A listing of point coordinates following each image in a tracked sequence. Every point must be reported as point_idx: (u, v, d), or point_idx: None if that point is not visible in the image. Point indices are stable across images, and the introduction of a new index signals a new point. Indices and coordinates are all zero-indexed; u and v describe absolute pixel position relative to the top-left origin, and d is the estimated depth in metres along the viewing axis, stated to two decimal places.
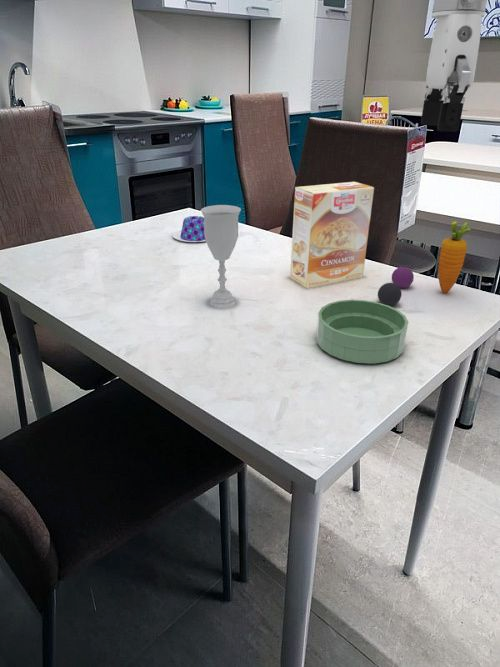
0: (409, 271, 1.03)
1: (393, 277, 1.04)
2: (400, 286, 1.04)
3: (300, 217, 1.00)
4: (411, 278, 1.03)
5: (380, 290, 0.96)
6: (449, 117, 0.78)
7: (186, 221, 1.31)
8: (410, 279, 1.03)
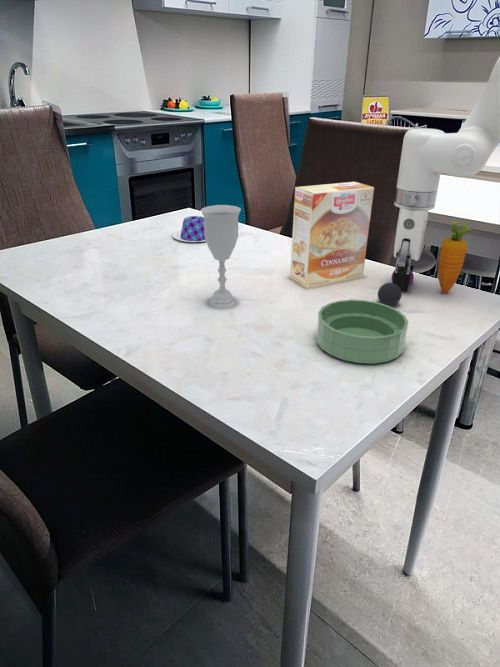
0: None
1: None
2: None
3: (300, 217, 1.00)
4: (411, 278, 1.03)
5: (380, 290, 0.96)
6: (398, 282, 1.02)
7: (186, 221, 1.31)
8: (410, 279, 1.03)
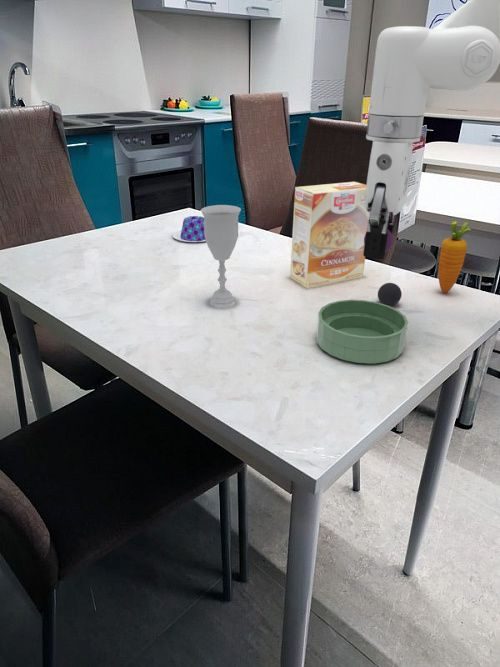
0: (386, 231, 0.77)
1: None
2: None
3: (300, 217, 1.00)
4: (389, 240, 0.77)
5: (380, 290, 0.96)
6: (371, 245, 0.76)
7: (186, 221, 1.31)
8: (388, 242, 0.77)
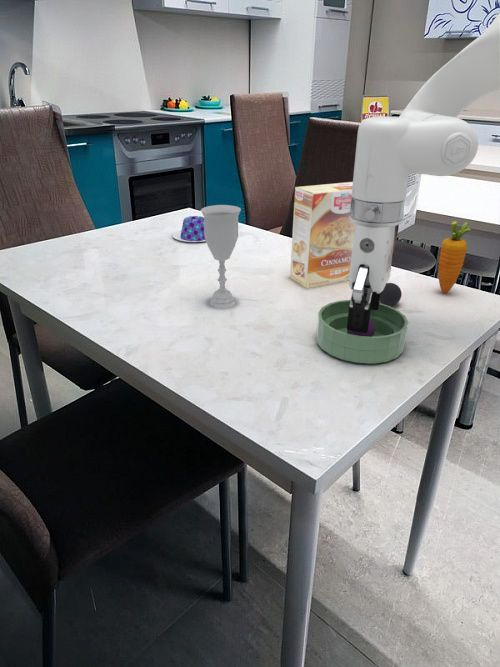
0: None
1: None
2: None
3: (300, 217, 1.00)
4: (371, 331, 0.80)
5: None
6: (354, 320, 0.75)
7: (186, 221, 1.31)
8: (370, 333, 0.80)
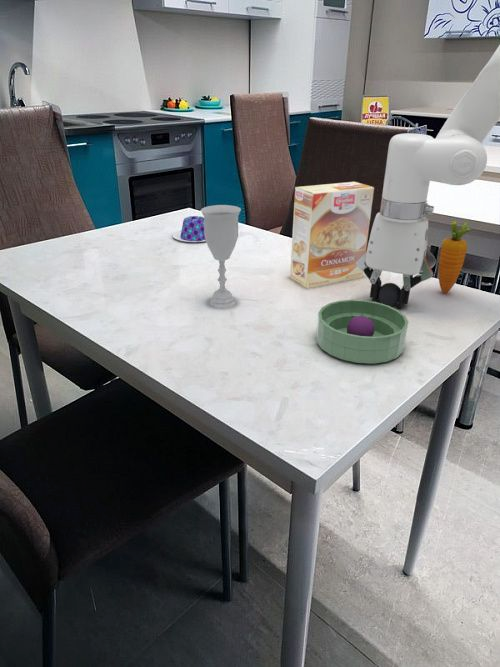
0: (368, 322, 0.80)
1: (348, 329, 0.81)
2: None
3: (300, 217, 1.00)
4: (371, 331, 0.80)
5: (380, 290, 0.96)
6: (407, 298, 0.94)
7: (186, 221, 1.31)
8: (369, 332, 0.80)
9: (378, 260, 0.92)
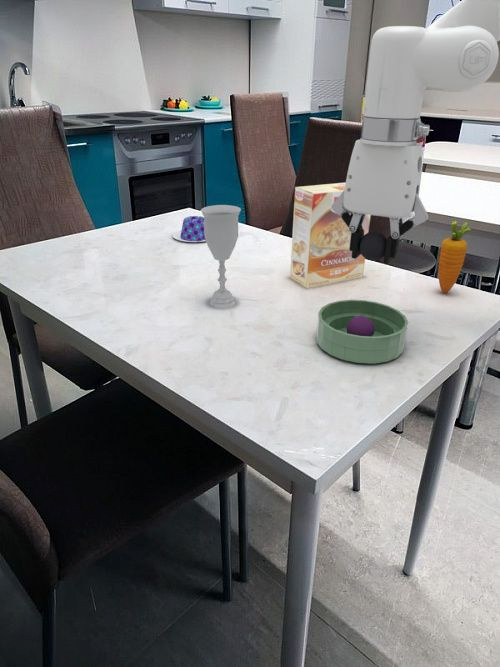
0: (368, 322, 0.80)
1: (348, 329, 0.81)
2: None
3: (300, 217, 1.00)
4: (371, 331, 0.80)
5: (362, 240, 0.76)
6: (396, 250, 0.75)
7: (186, 221, 1.31)
8: (369, 332, 0.80)
9: (359, 200, 0.73)
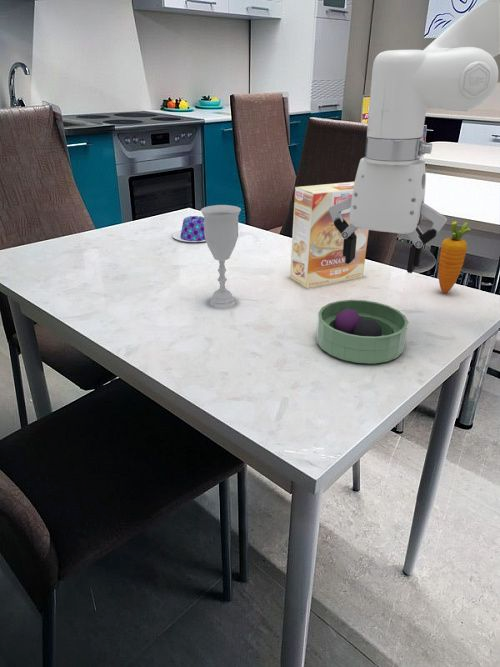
0: (344, 310, 0.84)
1: (337, 327, 0.83)
2: (350, 324, 0.82)
3: (300, 217, 1.00)
4: (351, 310, 0.83)
5: (366, 333, 0.79)
6: (419, 258, 0.75)
7: (186, 221, 1.31)
8: (350, 311, 0.83)
9: (365, 217, 0.75)
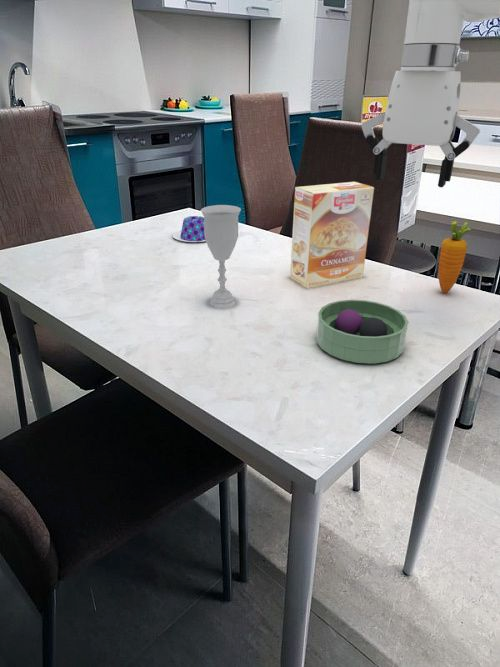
0: (345, 310, 0.84)
1: (338, 327, 0.83)
2: (351, 324, 0.82)
3: (300, 217, 1.00)
4: (353, 310, 0.83)
5: (375, 327, 0.79)
6: (450, 172, 0.76)
7: (186, 221, 1.31)
8: (352, 311, 0.83)
9: (398, 129, 0.76)
